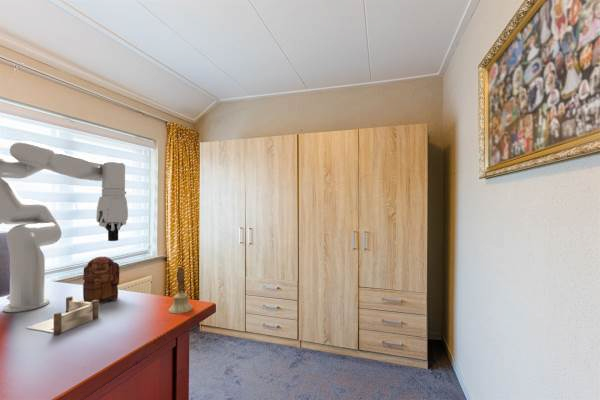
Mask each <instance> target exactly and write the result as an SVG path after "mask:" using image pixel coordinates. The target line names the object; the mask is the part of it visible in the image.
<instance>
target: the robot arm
mask: <svg viewBox="0 0 600 400" xmlns="http://www.w3.org/2000/svg"><path fill="white" fill-rule="evenodd" d="M9 154H10V156H9V155H8V156H7V155H3V154H0V222H1V224H2V223H3V224H5V225H15V226H13V227H12V228H10V229H9V230H8V232H7V234H6V236H5V237H6V244H7V245H6V246H7V248H8V252H9V296H7V297H6V300H8V301H9V303H8V304H6V305H5V306H4V307H3V312H6V313H19V312H26V311H27V312H28V311H31V310H35V309H39V308H42V307H44V306H47V305H48V304H50V298H49V297H45V268H46V267H45V264H46V263H45V255H44V252H43V251H42V249H41V247H44V246H49V245H54V244H56V243H57V242H58V241H60V239H61V237H62V229H61V227H60V225H59V224H58V222H57V221H56V219H55V217H54V216H53V214H52V212H51V211H50V210H49V208H48V207H47V206H46V205H45V204H44V203H43V202H41V201H39V200H34V199H23V198H21V197H20V195H19V194H18V193H17V191H16V190H15V188H14V186H12V185H11V184H9V183H8V182H7V181H5V180H4V179H5V178H6V179H25V178H28V177H30V176H33V175H34V174H36V173H38V172H41V171H42V170H47V171H51V172H53V173H57V174H60V175H64V176H66V177H67V176H68V177H70V178H73V179H78V180H79V179H80V180H86V181H95V182H100V181H101V196H99V199H98V201H97V207H96V215H95V216H96V217H95V218H96V222H97V223H99V224H98V226H99V227H101V228H104V229H106V231H107V241H108V242H117V241H119V231H120V230H121V227H122V226H124V225H126V224H127V221H128V218H129V217H128V216H129V212H128V211H129V209H128V202H127V197H126V195H127V191H126V165H125V163H124V162H122V161H115V160H113V161H112V160H111V161H110V160H108V161H107V160H106V161H103V162H100V161H95V160H91V159H86V158H83V157H82V158H81V157H77V156H73V155H70V154H67V153H65V152H64V150H61V149H56V148H54V147H50V146H48V145H45V144H40V143H35V142H32V141H25V140H23V141H17V142H14V143H13V144H11V146H10V148H9ZM3 178H4V179H3Z"/></svg>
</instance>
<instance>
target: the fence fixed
mask: <svg viewBox="0 0 600 400" xmlns="http://www.w3.org/2000/svg"><path fill="white" fill-rule="evenodd" d="M89 304H92V305H93V319H92V320H96V319H99V315H100V314H99V309H100V308H99V306H100V304H99V300H93V301H91V302H85V301H84V300H75V299H74V297H73V296H67V297H66V298H65V313H68V312H70V311H73V310H76V309H79V308H81V307H84V306H87V305H89Z"/></svg>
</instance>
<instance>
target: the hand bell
mask: <svg viewBox="0 0 600 400" xmlns="http://www.w3.org/2000/svg"><path fill="white" fill-rule="evenodd" d="M184 280H185V272H184V269H183V266H179V267H178V269H177V272H176V281H177V283H178V284H177V285H178V288H177V291H178V292H177V294H175V295H173V296H174V298H173V303H172V305H171V307H169V308H168V313H170V314H173V315H179V314H181V315H182V314H186V313H189V312H190V311H192V310H193V305H191V304H190V302H189V298H188V294H187V293H186V292H185V293H184V282H185V281H184Z"/></svg>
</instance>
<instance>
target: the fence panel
mask: <svg viewBox="0 0 600 400" xmlns="http://www.w3.org/2000/svg"><path fill="white" fill-rule="evenodd" d="M53 318H54V333H53V335H55V336H56V335H61V334H62V333H64V332H66V331H68V330H71V329H73V328H76V327H78V326H80V325H82V324H85V323H87V322H90V321H92V320H94V319H93V305H92V304H89V305H87V306H84V307H81V308H79V309H76V310H73V311H70V312H68V313H66V312H65V313H63V314H62V312H55V313H53Z"/></svg>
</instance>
